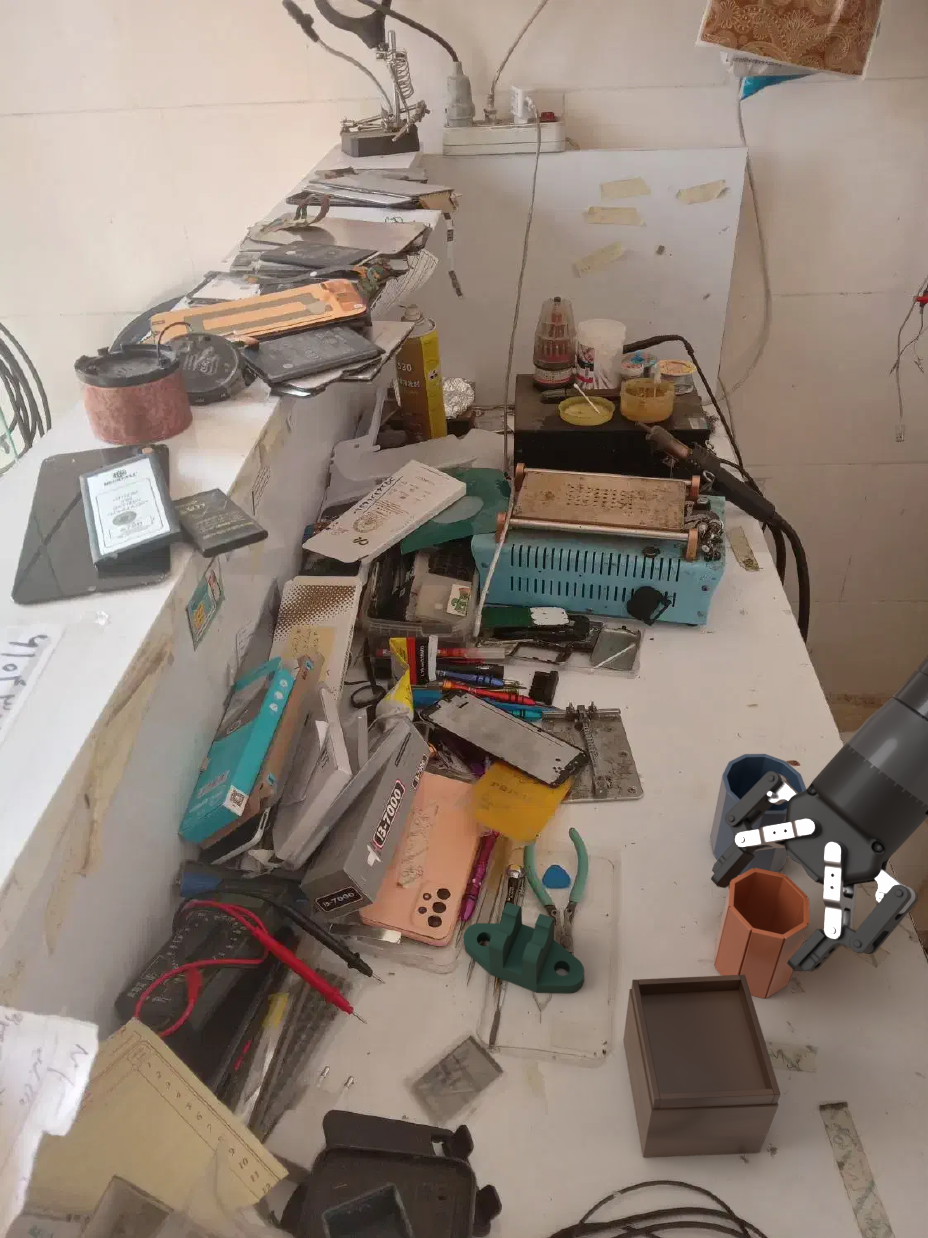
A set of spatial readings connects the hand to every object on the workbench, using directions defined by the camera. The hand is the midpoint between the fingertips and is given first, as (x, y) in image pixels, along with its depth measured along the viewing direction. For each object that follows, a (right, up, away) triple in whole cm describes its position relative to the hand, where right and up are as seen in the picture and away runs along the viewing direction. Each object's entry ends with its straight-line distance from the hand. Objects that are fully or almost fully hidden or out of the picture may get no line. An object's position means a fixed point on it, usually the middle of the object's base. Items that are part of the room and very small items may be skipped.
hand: (754, 924), depth 66 cm
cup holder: (-6, -12, -3) cm, 14 cm away
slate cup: (+4, +2, +14) cm, 14 cm away
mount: (-18, -6, +6) cm, 20 cm away
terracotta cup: (+1, -5, +5) cm, 7 cm away
